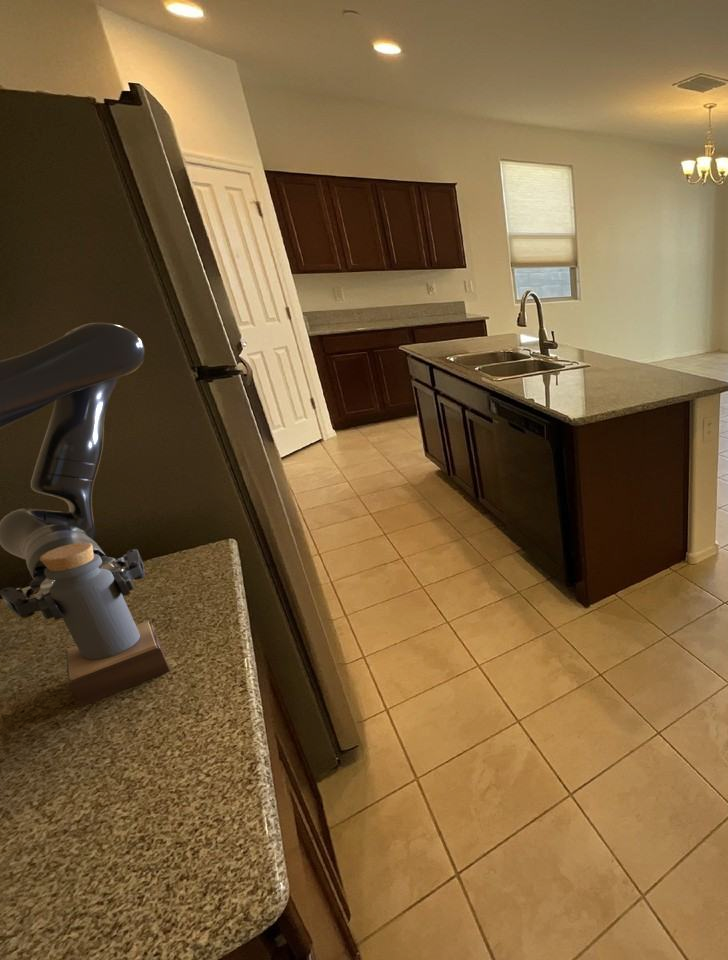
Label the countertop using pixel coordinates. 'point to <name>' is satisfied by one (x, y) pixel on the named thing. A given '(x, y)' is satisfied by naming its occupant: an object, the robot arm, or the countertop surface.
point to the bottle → (89, 601)
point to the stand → (116, 668)
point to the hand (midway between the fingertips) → (91, 600)
